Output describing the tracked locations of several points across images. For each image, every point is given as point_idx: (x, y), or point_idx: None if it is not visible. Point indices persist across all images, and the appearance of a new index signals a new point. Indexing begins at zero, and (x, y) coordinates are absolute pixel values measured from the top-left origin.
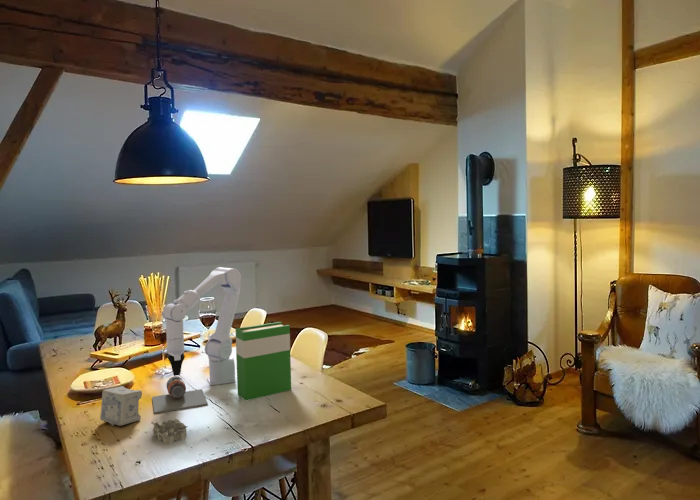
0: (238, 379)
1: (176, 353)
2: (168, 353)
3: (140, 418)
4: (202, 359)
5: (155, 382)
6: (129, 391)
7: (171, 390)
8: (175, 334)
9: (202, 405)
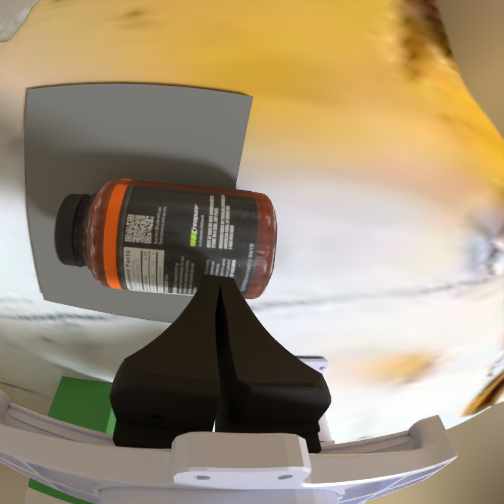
0: (95, 426)
1: (21, 467)
2: (129, 455)
3: (5, 40)
4: (481, 353)
5: (456, 187)
6: None
7: (76, 200)
8: None
9: (42, 280)
